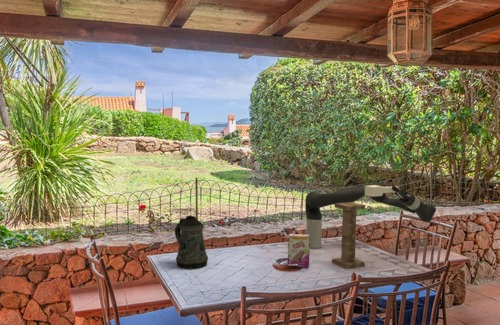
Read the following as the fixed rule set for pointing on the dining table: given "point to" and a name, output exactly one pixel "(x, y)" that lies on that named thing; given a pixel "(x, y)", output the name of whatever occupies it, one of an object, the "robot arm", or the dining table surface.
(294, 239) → the candy bar box
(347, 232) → the stand
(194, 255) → the beer stein
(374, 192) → the handle block
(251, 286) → the dining table surface
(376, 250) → the dining table surface
